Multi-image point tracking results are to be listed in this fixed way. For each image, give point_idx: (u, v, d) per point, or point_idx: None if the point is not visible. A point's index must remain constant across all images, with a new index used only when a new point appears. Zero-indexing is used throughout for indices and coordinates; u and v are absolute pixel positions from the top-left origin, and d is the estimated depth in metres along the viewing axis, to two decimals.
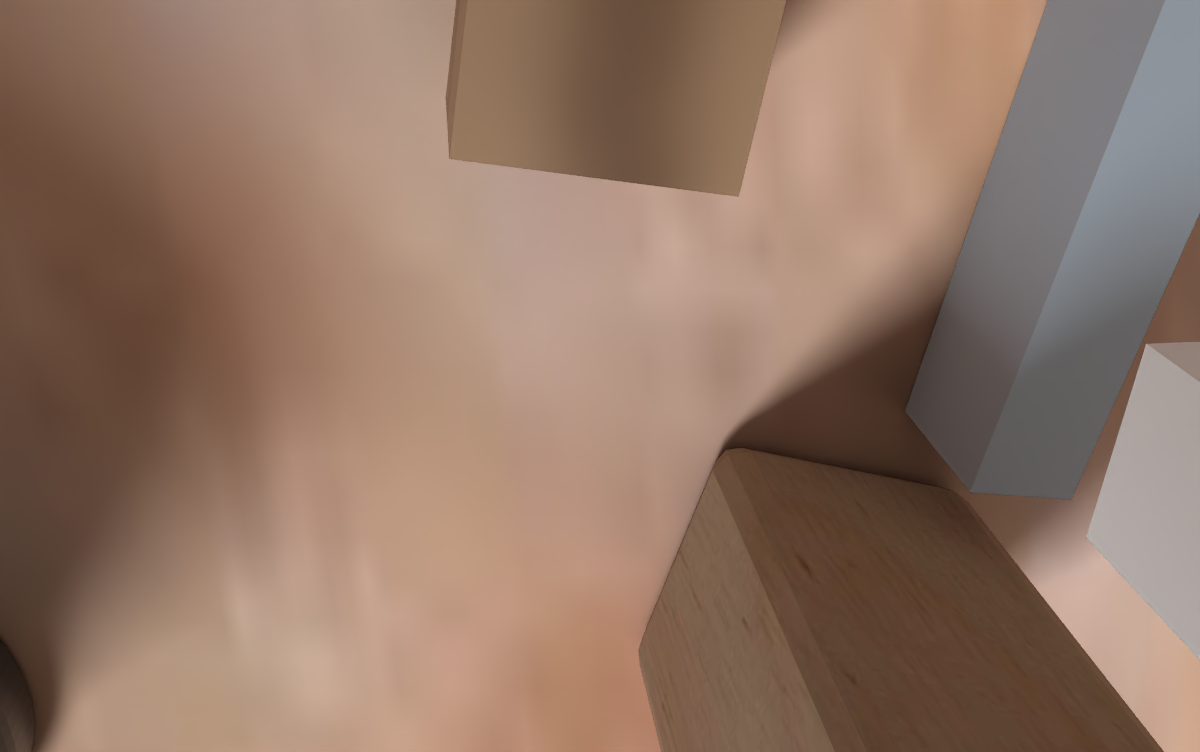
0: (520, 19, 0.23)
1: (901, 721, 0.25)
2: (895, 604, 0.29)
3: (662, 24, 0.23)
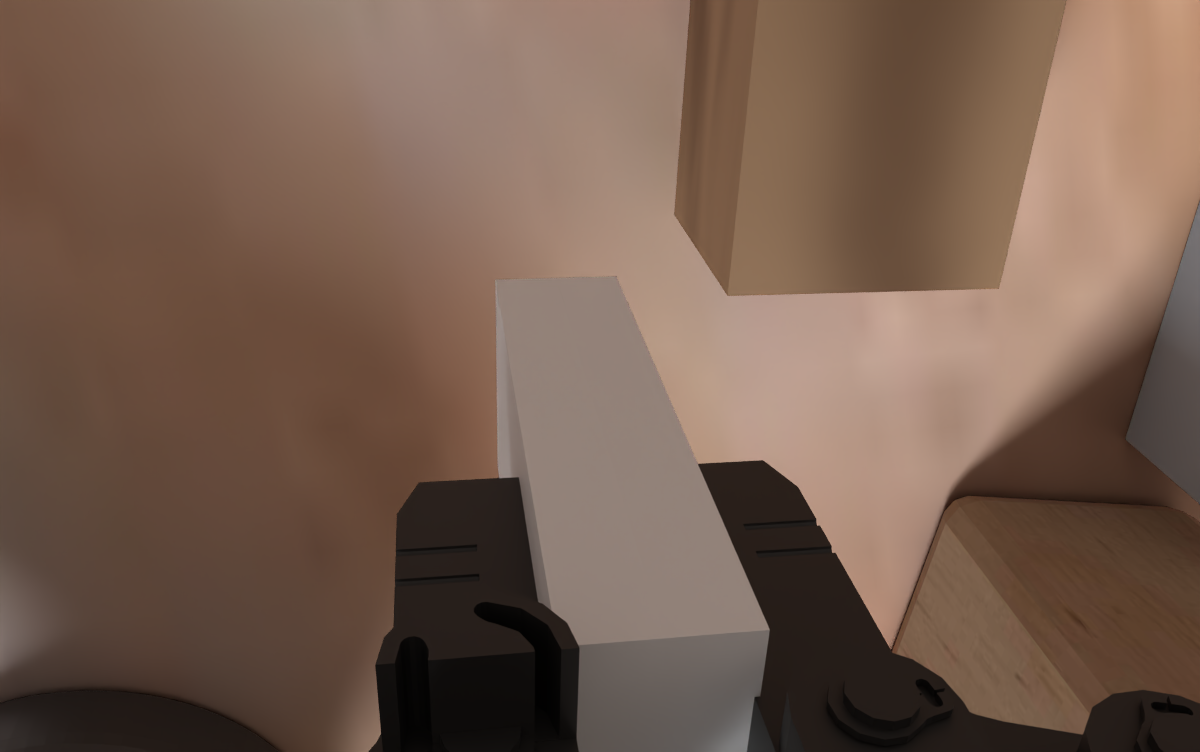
0: (791, 161, 0.24)
1: None
2: (1174, 649, 0.30)
3: (924, 144, 0.24)
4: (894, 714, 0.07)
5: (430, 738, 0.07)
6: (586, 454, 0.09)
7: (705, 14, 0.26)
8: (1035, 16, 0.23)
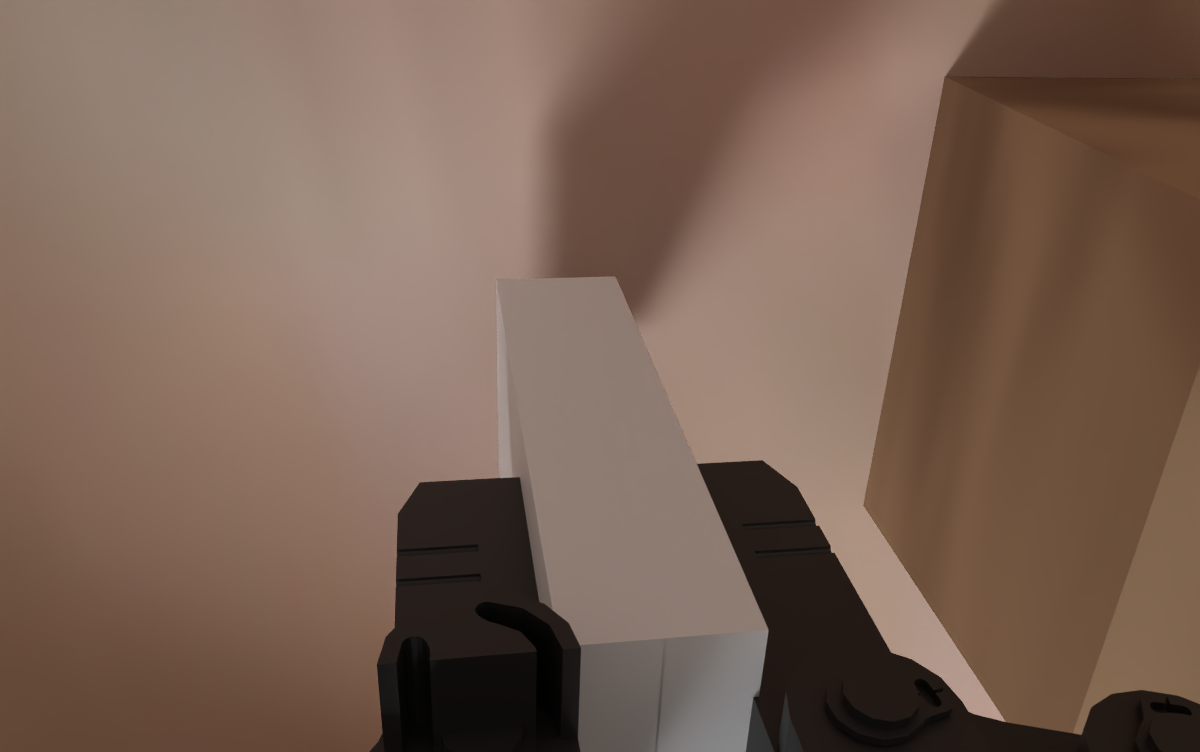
0: None
1: None
2: None
3: None
4: (893, 714, 0.07)
5: (432, 738, 0.07)
6: (587, 454, 0.09)
7: (984, 202, 0.13)
8: None
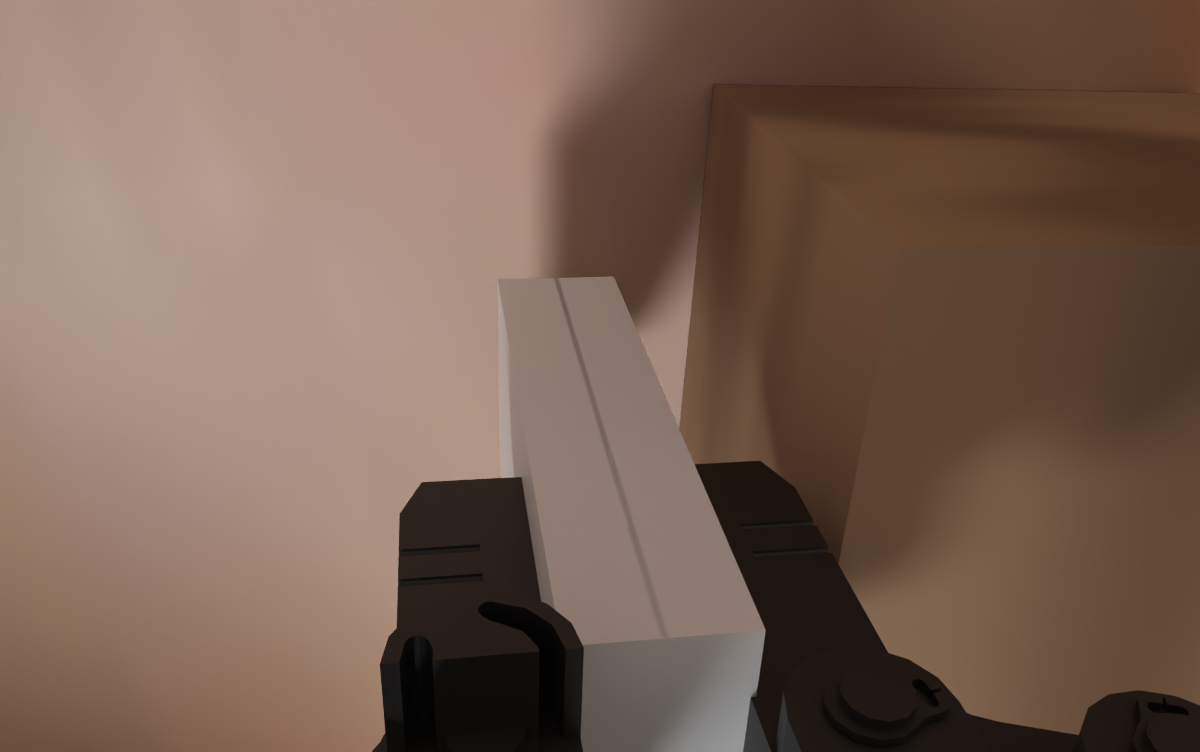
0: (942, 601, 0.10)
1: None
2: None
3: None
4: (890, 714, 0.07)
5: (434, 737, 0.07)
6: (589, 454, 0.09)
7: (740, 218, 0.13)
8: None
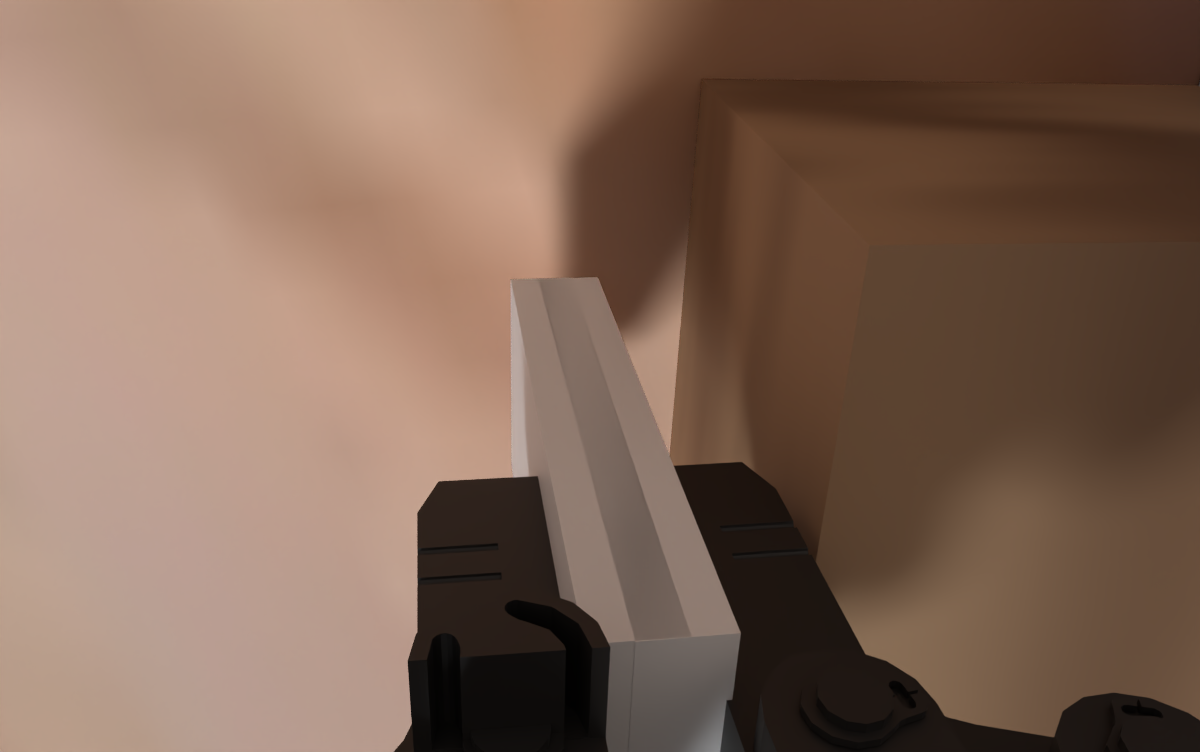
0: (922, 605, 0.10)
1: None
2: None
3: None
4: (867, 716, 0.07)
5: (461, 735, 0.07)
6: (606, 453, 0.09)
7: (725, 215, 0.12)
8: None
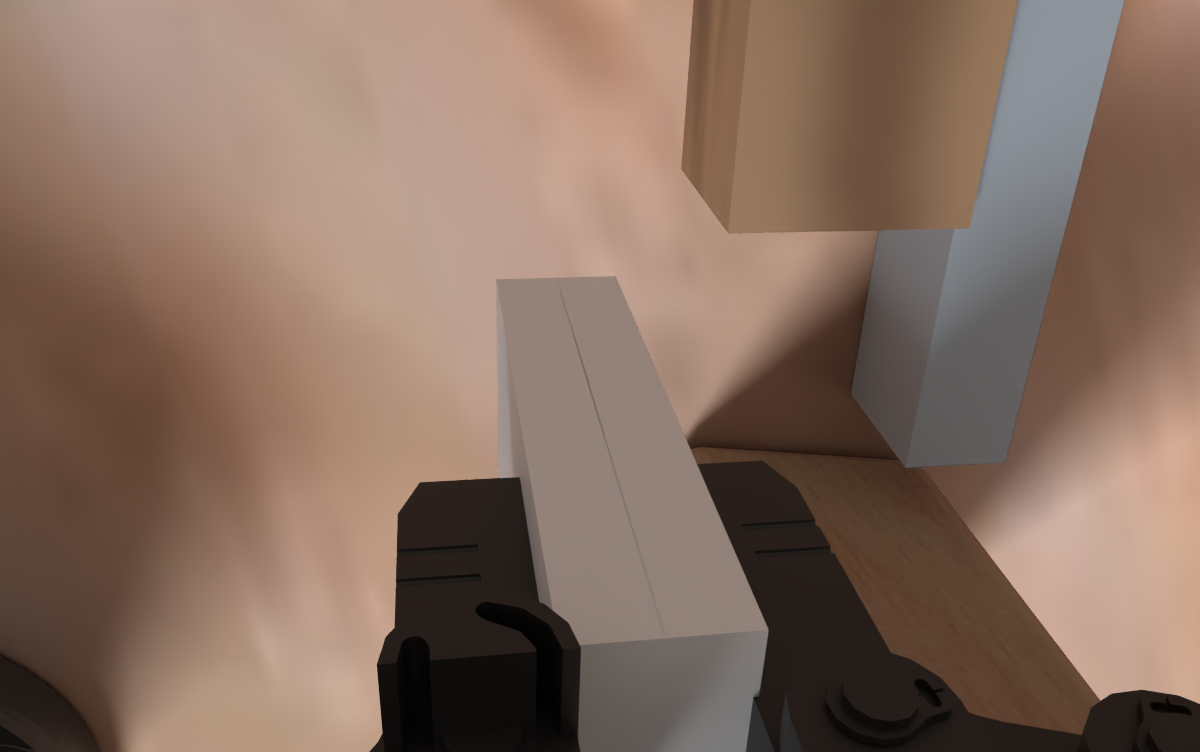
0: (783, 111, 0.27)
1: None
2: None
3: (901, 97, 0.27)
4: (892, 714, 0.07)
5: (431, 738, 0.07)
6: (587, 454, 0.09)
7: None
8: None
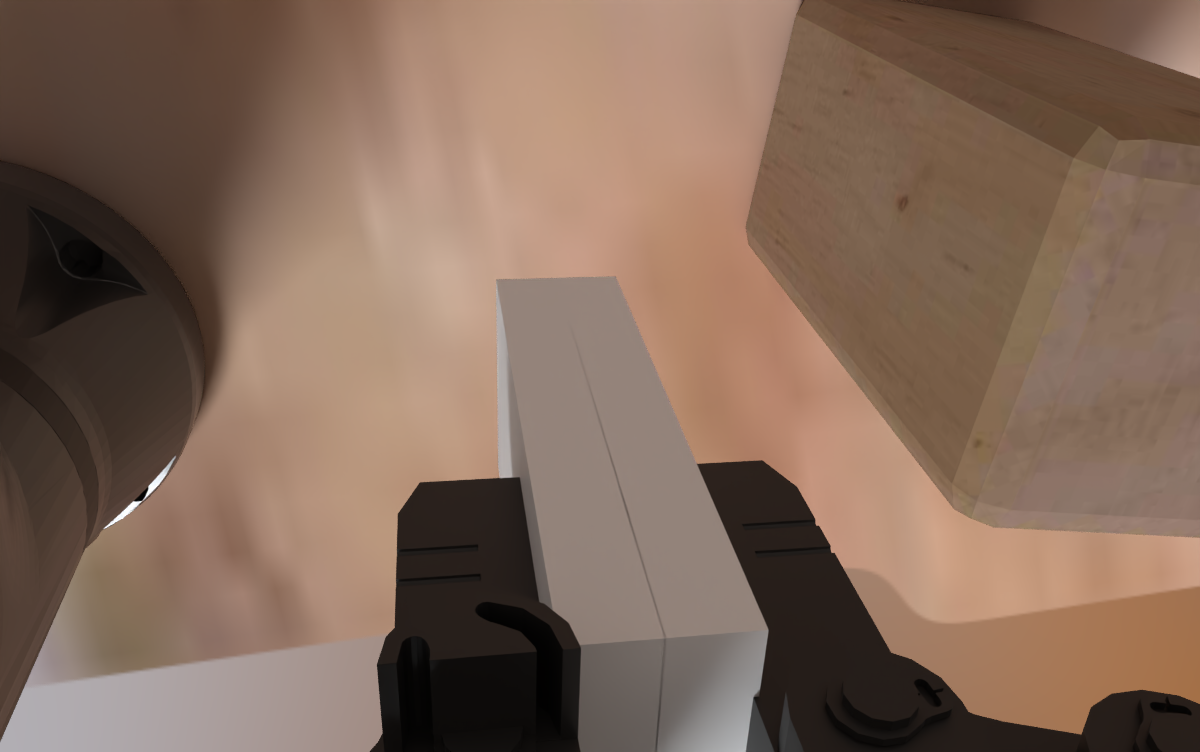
0: None
1: (1005, 58, 0.27)
2: (986, 36, 0.31)
3: None
4: (893, 714, 0.07)
5: (432, 738, 0.07)
6: (587, 454, 0.09)
7: None
8: None
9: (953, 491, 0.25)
